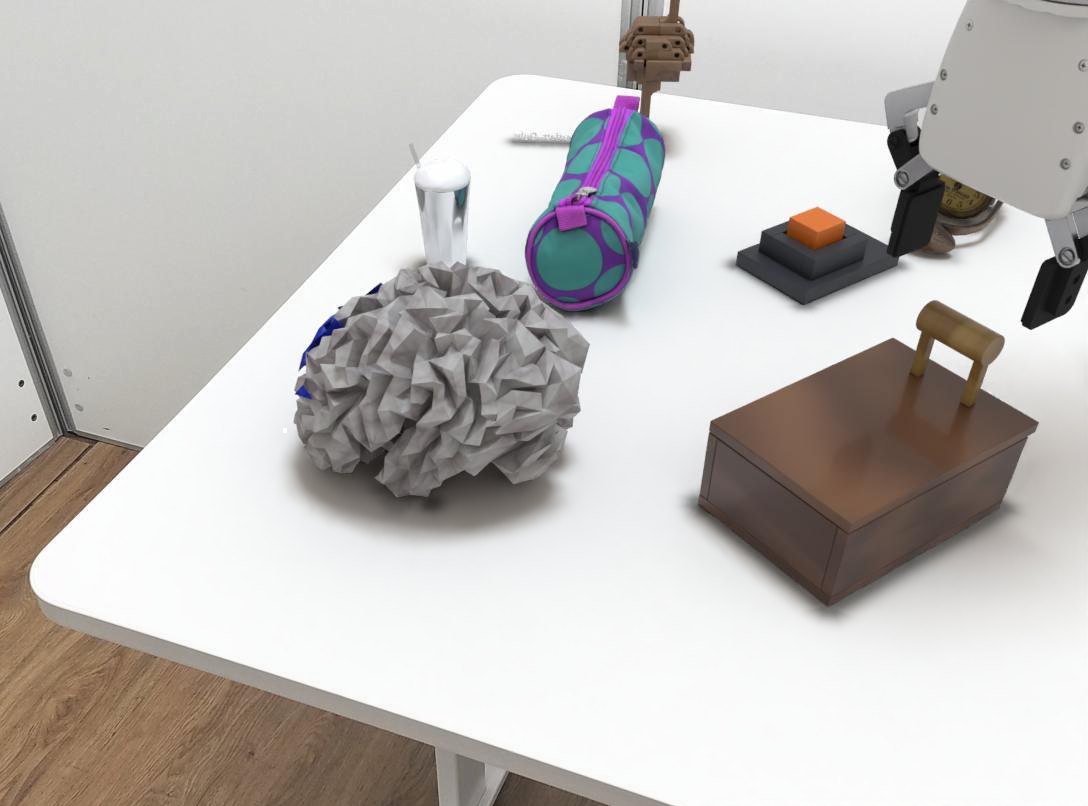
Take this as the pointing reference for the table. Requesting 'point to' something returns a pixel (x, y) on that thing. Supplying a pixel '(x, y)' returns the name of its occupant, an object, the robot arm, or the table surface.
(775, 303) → the table surface
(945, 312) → the case lid
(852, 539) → the brown wooden case body
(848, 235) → the push button base
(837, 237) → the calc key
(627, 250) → the pencil case
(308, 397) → the educational model
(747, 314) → the table surface
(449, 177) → the milkshake
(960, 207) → the vintage brass clock
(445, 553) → the table surface
